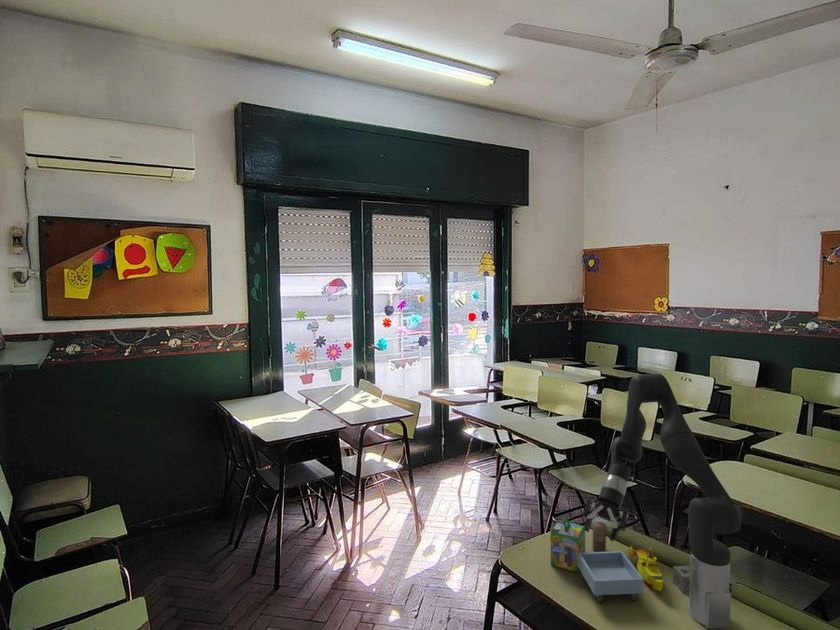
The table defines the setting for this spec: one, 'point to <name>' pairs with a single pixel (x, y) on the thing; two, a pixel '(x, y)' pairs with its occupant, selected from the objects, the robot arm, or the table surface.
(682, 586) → the grey cube with hole
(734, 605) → the table surface
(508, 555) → the table surface
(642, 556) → the yellow toy submarine
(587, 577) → the wheeled cart
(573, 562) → the chalk box
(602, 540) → the cylinder
